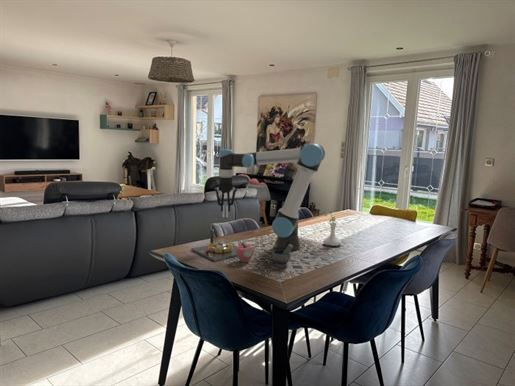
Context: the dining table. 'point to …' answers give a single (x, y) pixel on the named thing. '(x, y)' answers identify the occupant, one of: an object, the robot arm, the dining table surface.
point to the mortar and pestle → (282, 256)
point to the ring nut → (218, 249)
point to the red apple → (245, 252)
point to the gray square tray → (215, 256)
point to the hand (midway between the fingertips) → (225, 216)
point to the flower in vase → (331, 239)
